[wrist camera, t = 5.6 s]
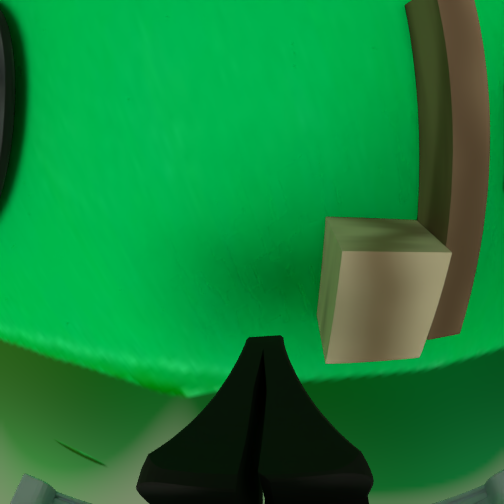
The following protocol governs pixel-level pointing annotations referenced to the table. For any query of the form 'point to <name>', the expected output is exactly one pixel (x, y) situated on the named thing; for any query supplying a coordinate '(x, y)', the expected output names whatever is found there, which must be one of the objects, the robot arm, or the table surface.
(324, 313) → the beech block
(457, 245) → the walnut board
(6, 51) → the electronic game
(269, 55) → the table surface
